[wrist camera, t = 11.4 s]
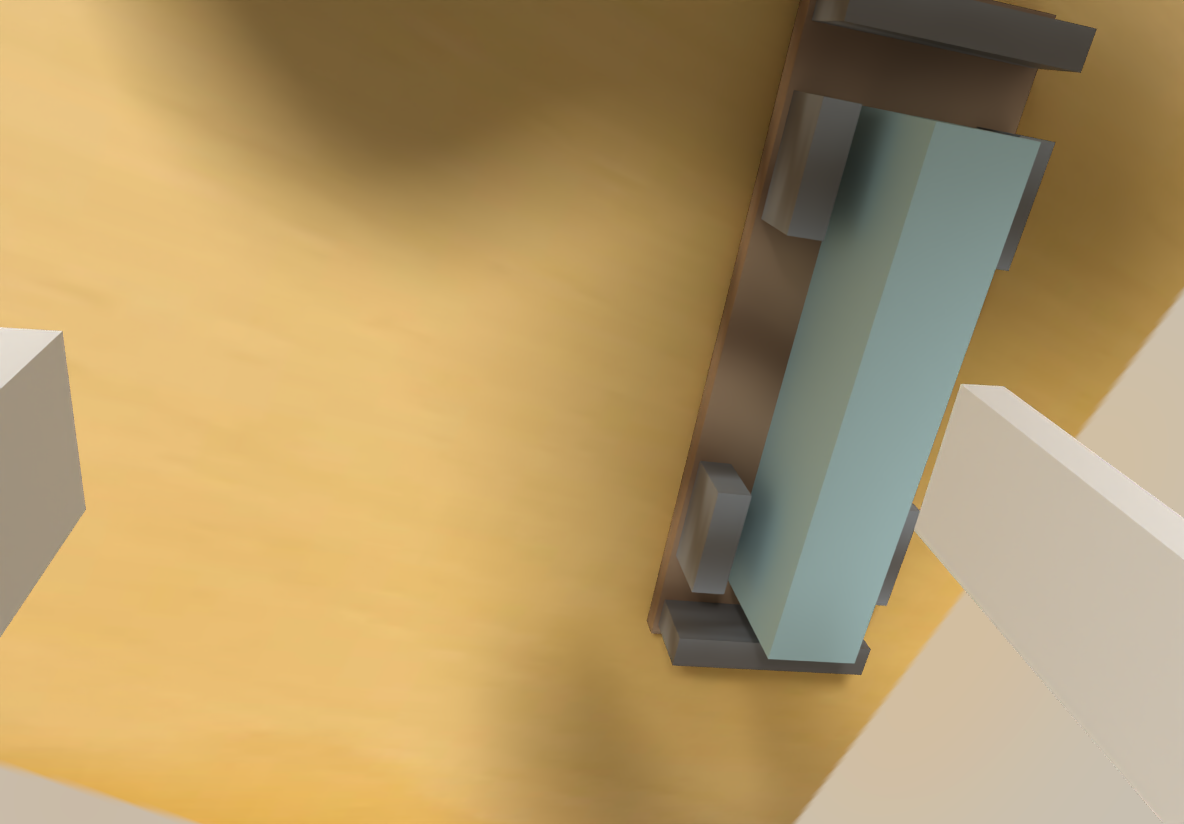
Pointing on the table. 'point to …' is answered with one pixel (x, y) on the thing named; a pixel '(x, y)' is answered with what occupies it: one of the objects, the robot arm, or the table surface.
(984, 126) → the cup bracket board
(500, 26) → the table surface
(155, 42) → the table surface
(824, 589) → the rail
